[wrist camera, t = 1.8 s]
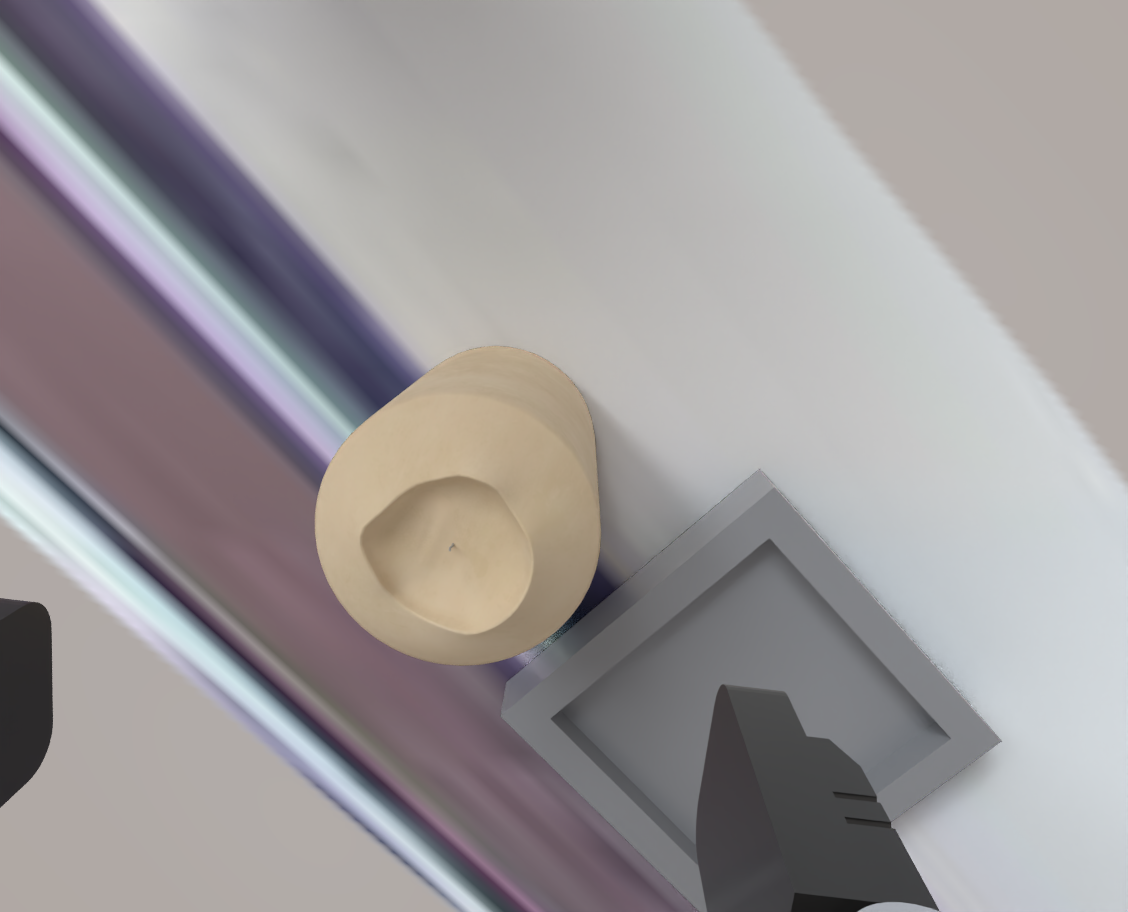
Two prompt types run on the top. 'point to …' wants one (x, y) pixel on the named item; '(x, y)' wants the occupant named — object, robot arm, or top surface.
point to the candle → (465, 510)
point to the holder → (735, 677)
